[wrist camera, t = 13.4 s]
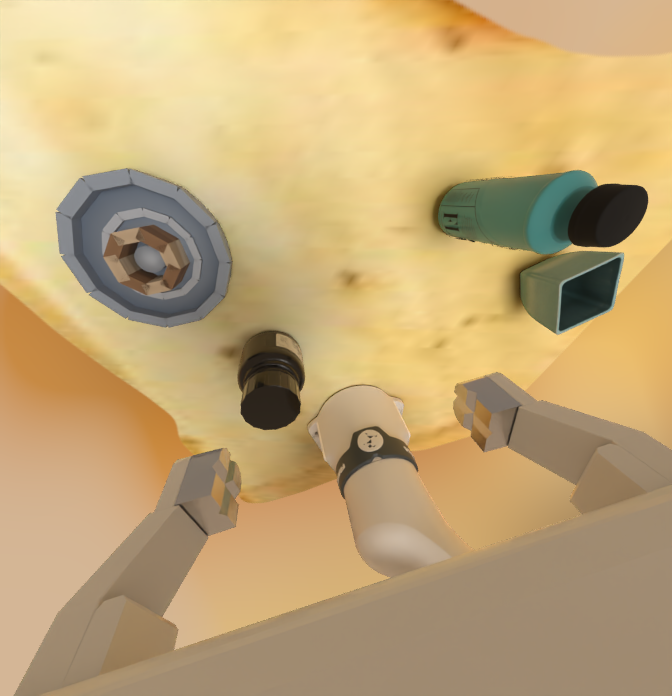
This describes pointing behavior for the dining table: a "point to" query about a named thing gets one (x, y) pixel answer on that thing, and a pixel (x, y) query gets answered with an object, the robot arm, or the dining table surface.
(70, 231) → the groove tray
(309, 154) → the dining table surface
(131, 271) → the bead loop
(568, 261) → the flower pot
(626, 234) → the beverage bottle
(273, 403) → the ink bottle
